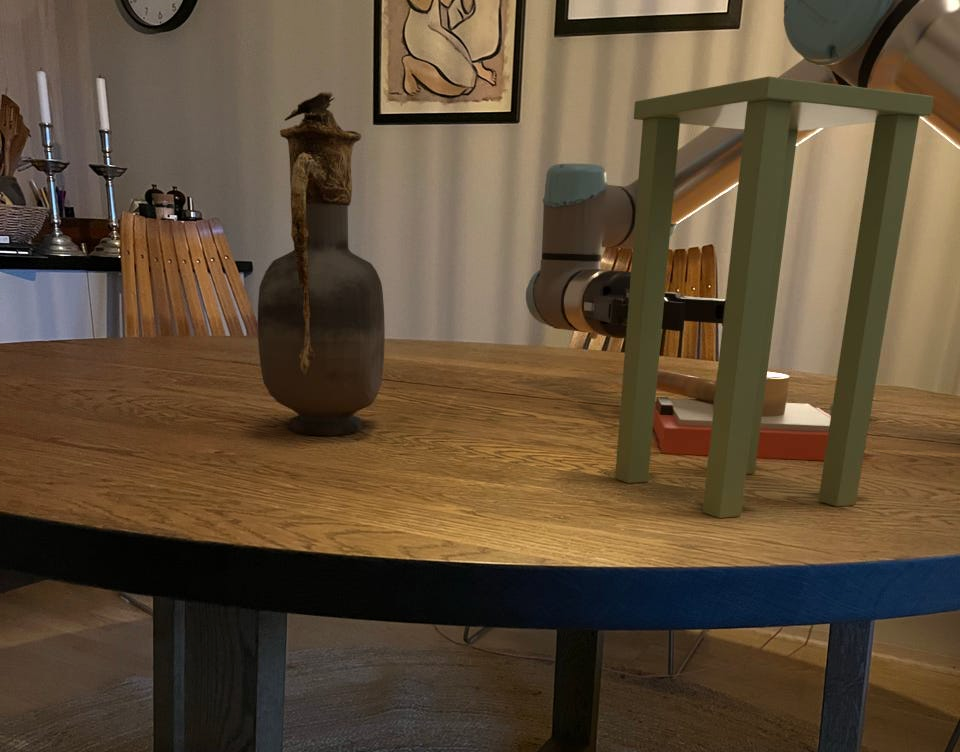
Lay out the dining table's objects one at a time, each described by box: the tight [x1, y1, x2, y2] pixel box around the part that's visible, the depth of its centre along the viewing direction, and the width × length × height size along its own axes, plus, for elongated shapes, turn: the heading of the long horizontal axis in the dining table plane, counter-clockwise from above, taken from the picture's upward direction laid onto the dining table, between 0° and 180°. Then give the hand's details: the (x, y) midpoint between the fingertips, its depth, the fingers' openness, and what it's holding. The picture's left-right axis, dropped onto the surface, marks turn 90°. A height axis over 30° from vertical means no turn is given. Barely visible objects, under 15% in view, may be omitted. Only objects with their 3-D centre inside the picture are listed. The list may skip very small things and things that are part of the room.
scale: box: [653, 396, 831, 462], centre depth 104 cm, size 18×18×3 cm
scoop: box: [656, 369, 790, 417], centre depth 108 cm, size 20×7×4 cm, turn 24°
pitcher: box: [257, 91, 386, 437], centre depth 96 cm, size 11×19×30 cm, turn 178°
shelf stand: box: [614, 75, 934, 519], centre depth 77 cm, size 15×14×28 cm
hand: (724, 317), depth 105 cm, fingers open, 10 cm apart
